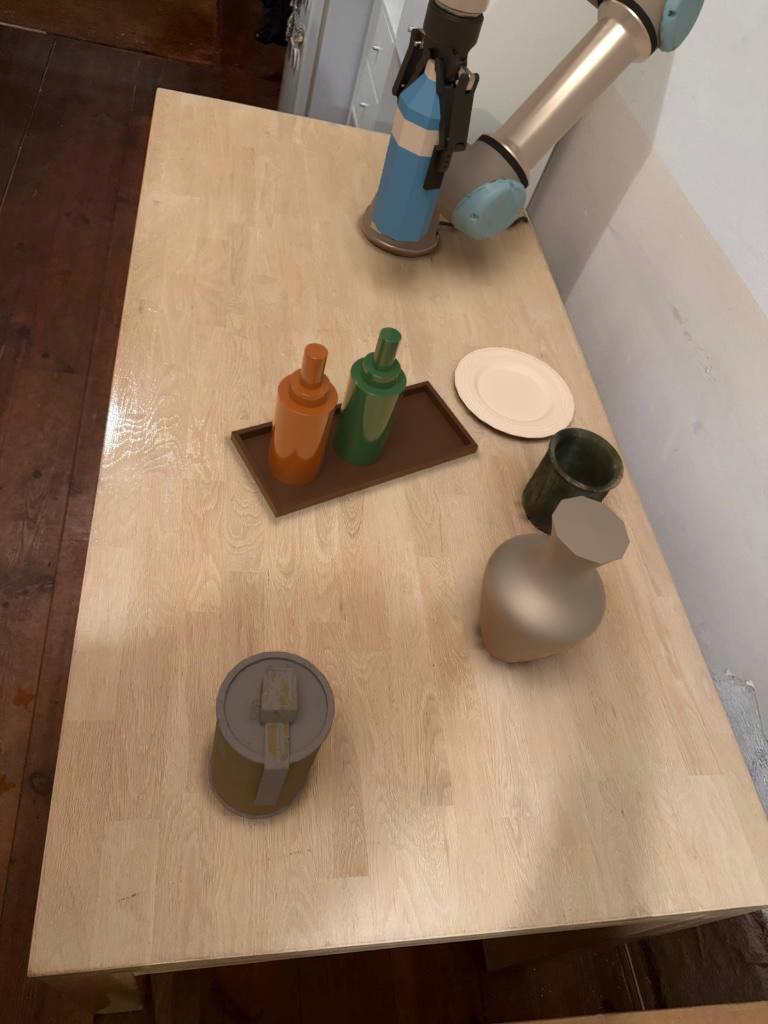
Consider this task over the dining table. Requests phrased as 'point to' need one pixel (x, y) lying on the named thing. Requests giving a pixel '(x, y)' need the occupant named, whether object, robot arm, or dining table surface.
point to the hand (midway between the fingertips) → (414, 169)
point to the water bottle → (410, 162)
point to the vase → (550, 583)
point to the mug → (571, 474)
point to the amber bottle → (302, 420)
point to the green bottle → (370, 402)
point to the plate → (514, 392)
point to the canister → (268, 732)
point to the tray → (410, 448)
